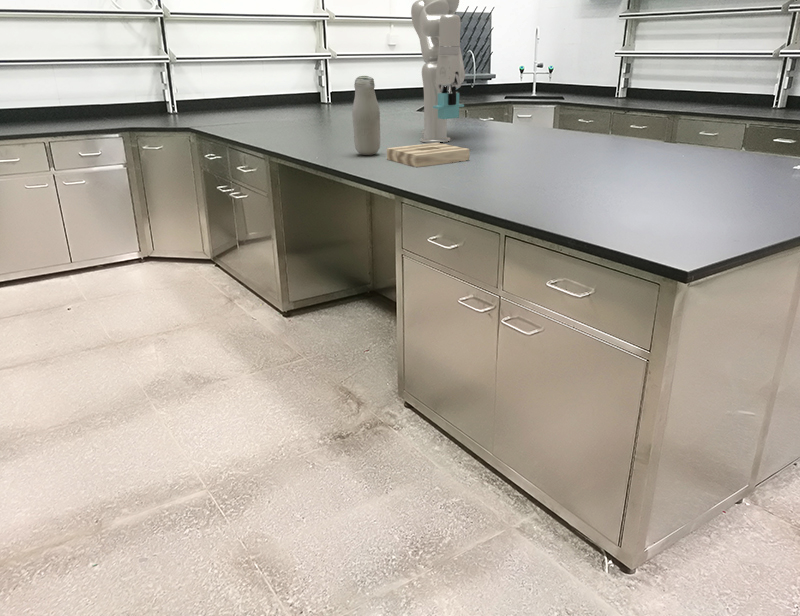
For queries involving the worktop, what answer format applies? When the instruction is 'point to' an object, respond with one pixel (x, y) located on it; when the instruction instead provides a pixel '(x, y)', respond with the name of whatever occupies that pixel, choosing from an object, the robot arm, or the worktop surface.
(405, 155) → the tan flat slab
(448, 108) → the servo
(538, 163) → the worktop surface
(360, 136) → the grey bottle
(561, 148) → the worktop surface
